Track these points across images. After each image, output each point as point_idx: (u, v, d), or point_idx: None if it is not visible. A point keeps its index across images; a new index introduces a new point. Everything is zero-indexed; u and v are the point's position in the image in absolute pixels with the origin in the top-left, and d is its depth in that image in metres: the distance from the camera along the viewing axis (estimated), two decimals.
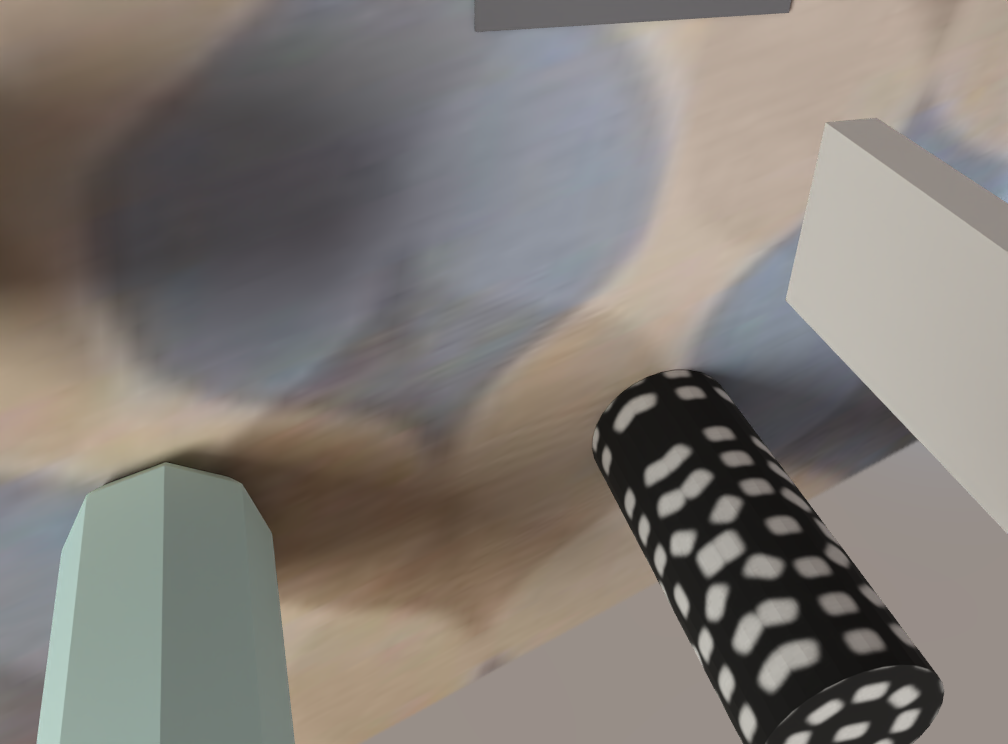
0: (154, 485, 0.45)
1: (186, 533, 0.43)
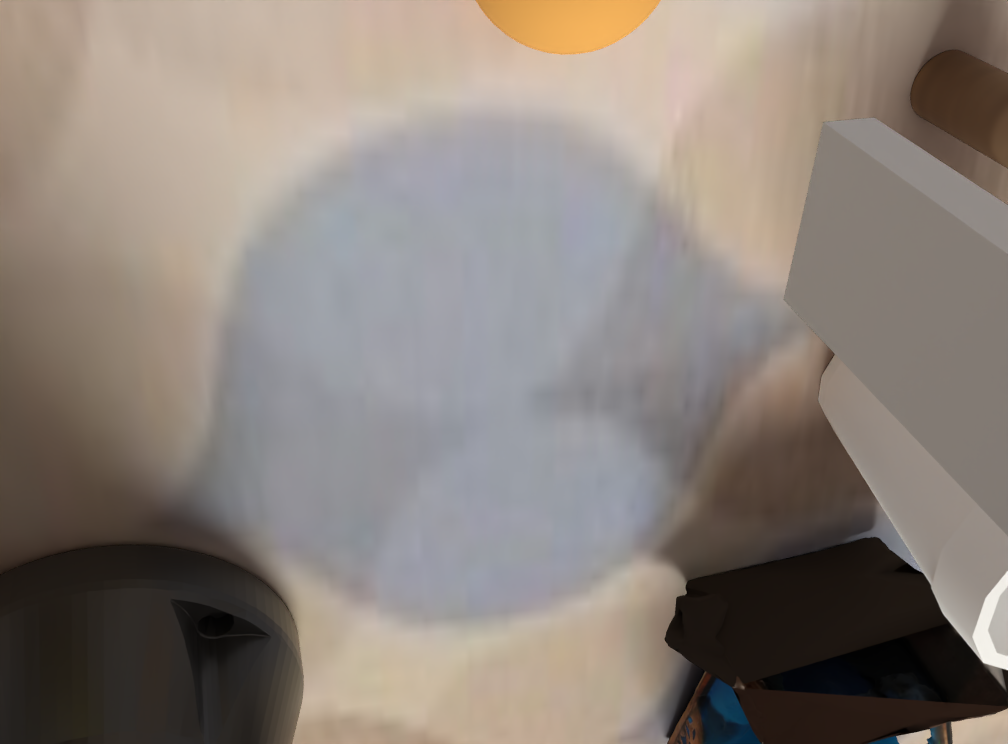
0: None
1: None
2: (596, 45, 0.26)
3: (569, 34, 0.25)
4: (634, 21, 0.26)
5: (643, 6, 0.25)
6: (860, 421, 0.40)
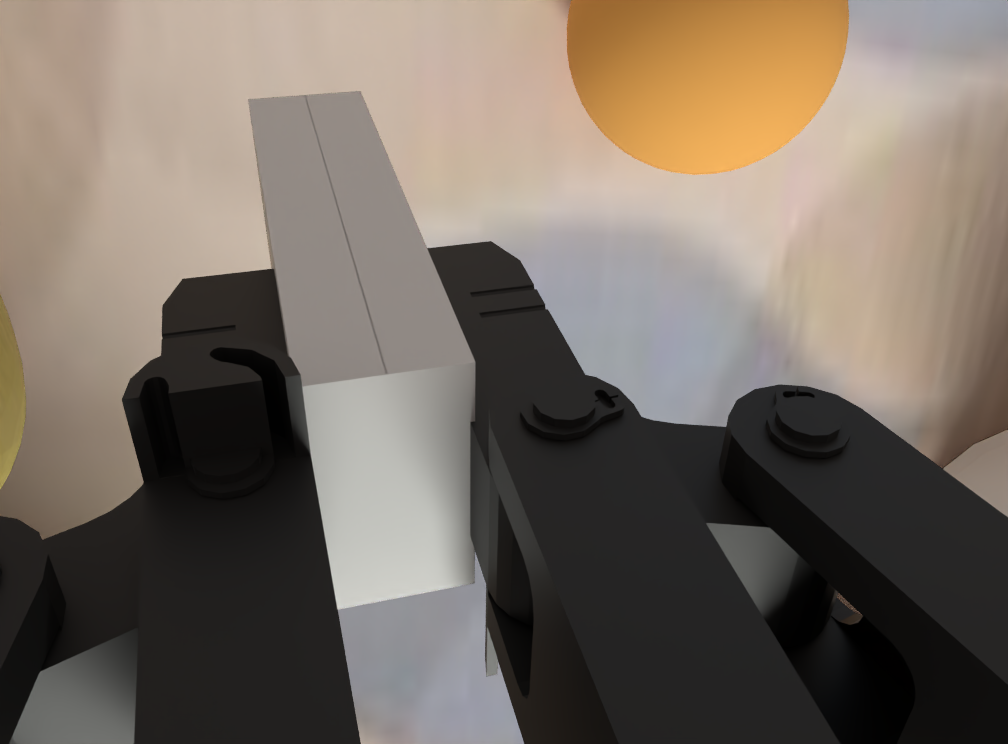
0: None
1: None
2: (736, 167, 0.21)
3: (708, 157, 0.20)
4: (787, 140, 0.21)
5: (801, 124, 0.20)
6: None
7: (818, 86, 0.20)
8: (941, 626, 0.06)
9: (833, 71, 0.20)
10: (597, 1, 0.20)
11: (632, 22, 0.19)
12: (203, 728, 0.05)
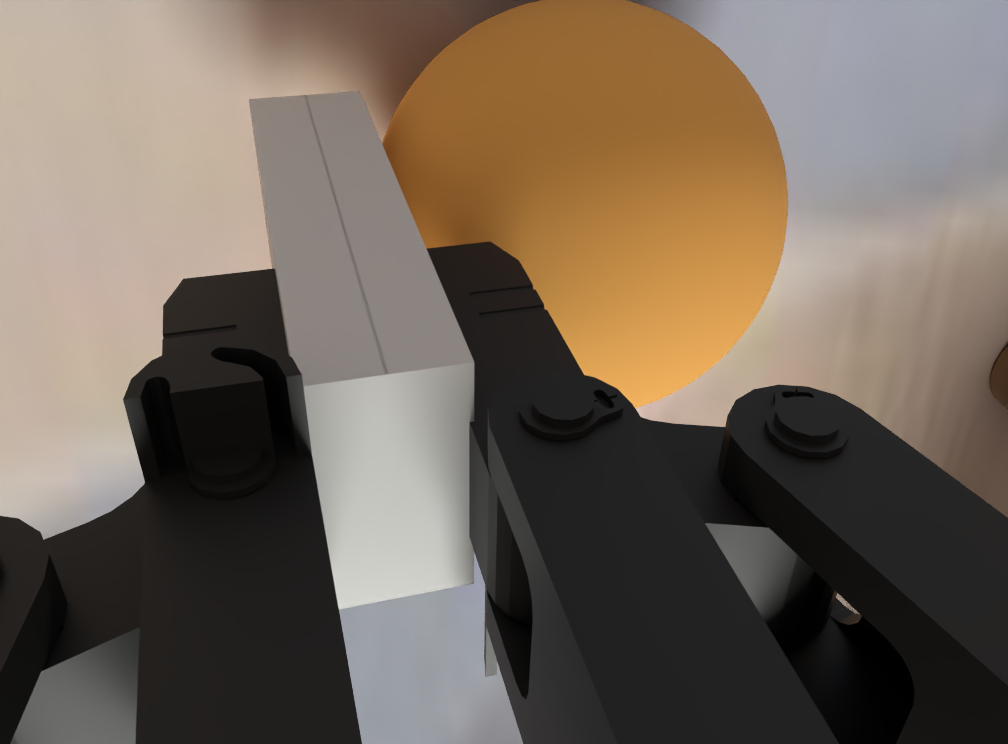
0: None
1: None
2: None
3: (660, 396, 0.14)
4: None
5: None
6: None
7: None
8: (939, 626, 0.06)
9: None
10: (476, 217, 0.12)
11: (559, 247, 0.11)
12: (204, 728, 0.05)
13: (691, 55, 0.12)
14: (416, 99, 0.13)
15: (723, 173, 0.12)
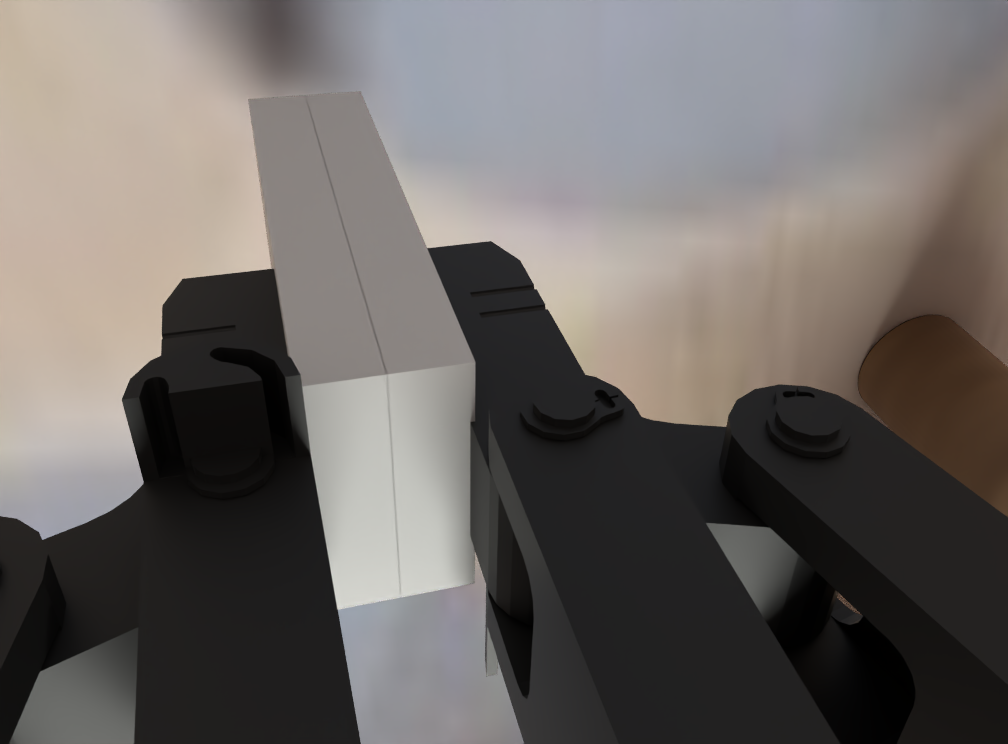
0: None
1: None
2: None
3: None
4: None
5: None
6: None
7: None
8: (941, 626, 0.06)
9: None
10: None
11: None
12: (202, 728, 0.05)
13: None
14: None
15: None
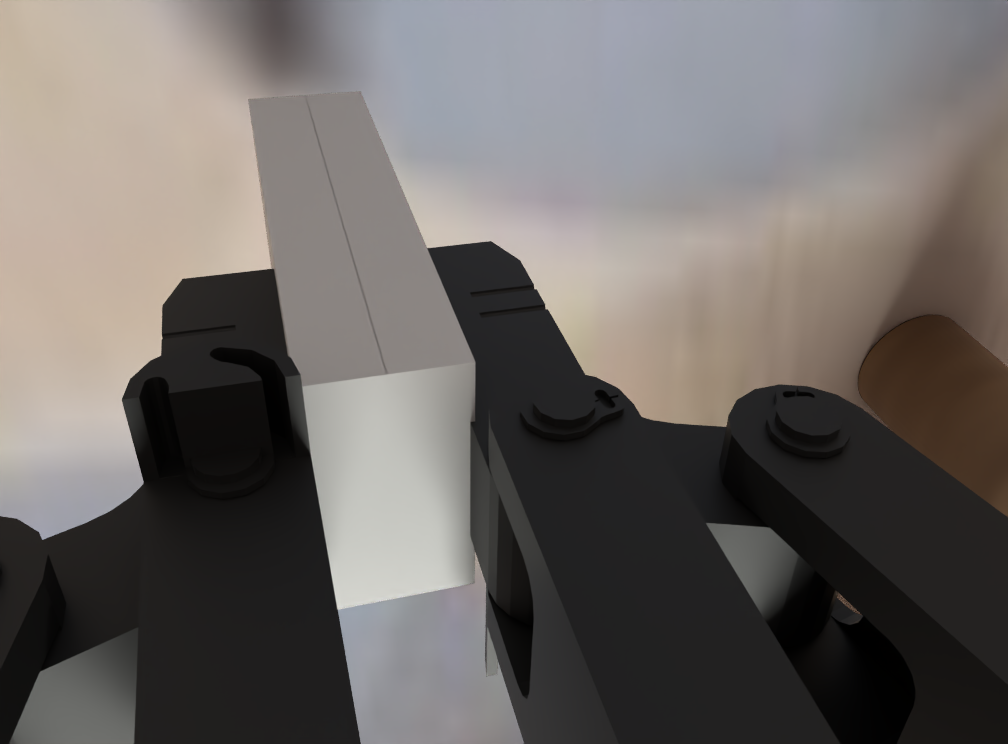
0: None
1: None
2: None
3: None
4: None
5: None
6: None
7: None
8: (941, 626, 0.06)
9: None
10: None
11: None
12: (202, 728, 0.05)
13: None
14: None
15: None
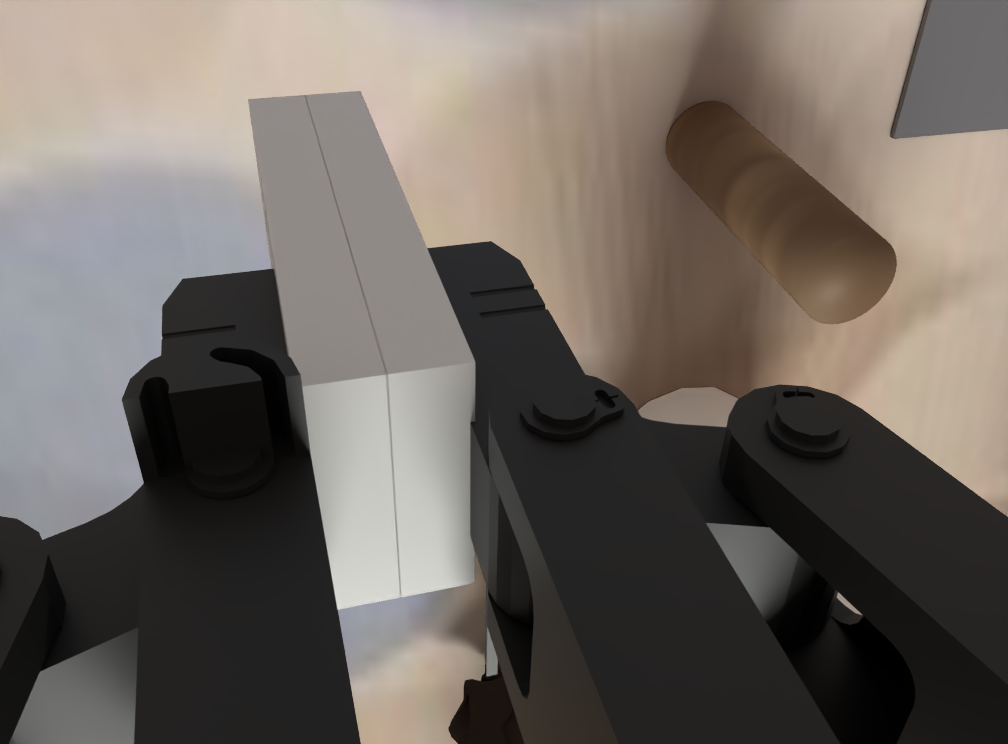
0: None
1: None
2: None
3: None
4: None
5: None
6: None
7: None
8: (940, 626, 0.06)
9: None
10: None
11: None
12: (202, 728, 0.05)
13: None
14: None
15: None
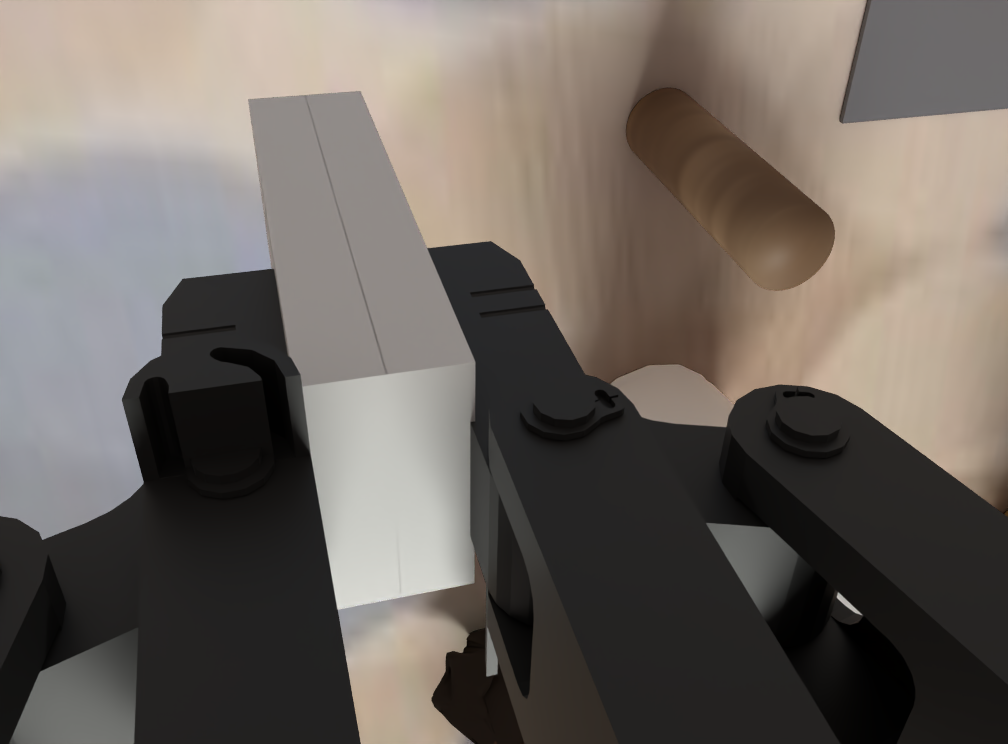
0: None
1: None
2: None
3: None
4: None
5: None
6: None
7: None
8: (941, 626, 0.06)
9: None
10: None
11: None
12: (203, 728, 0.05)
13: None
14: None
15: None
